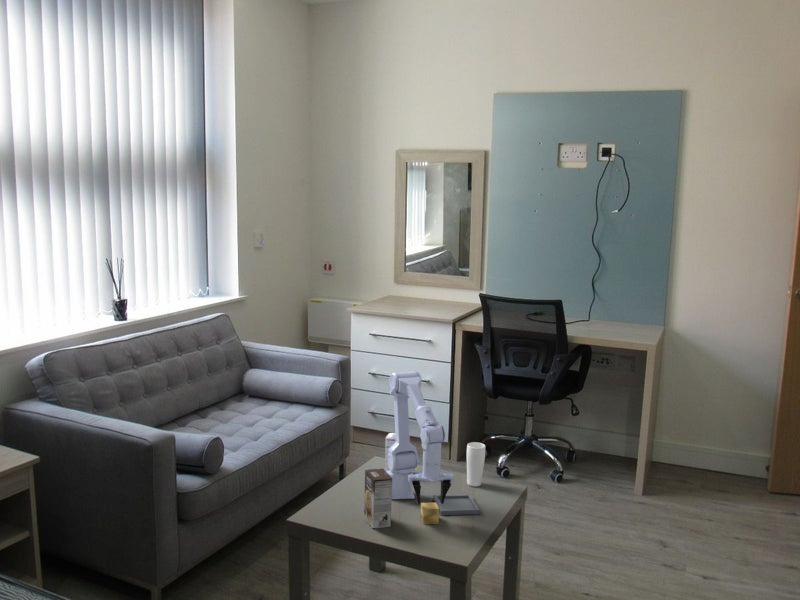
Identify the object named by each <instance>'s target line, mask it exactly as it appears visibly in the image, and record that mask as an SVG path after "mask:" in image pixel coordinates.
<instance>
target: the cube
mask: <svg viewBox="0 0 800 600" xmlns="http://www.w3.org/2000/svg"><path fill="white" fill-rule="evenodd" d="M420 519H421V522H422V524H423V525H435V524H436V525H437V524H439V521H440V520H439V519H440V512H439V508H438V506H437V503H435V502H420Z"/></svg>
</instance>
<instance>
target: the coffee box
mask: <svg viewBox="0 0 800 600" xmlns="http://www.w3.org/2000/svg"><path fill="white" fill-rule="evenodd" d="M392 501H393V499H392V477H391V476H390V475H389V474H388V473H387V472H386V471H385V468H372V469H365V470H364V501H363V502H364V506H363V507H364V511H363V512H364V513H363V517H365V518H364V519H365V520H366V522H367V523H368V524H369V526H370V525H371V526H370V527H371V529H372V528H375V529H382V528H389V527H390V528H391V526H392V525H391V523H392V522H391V521H392V503H393V502H392Z"/></svg>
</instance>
